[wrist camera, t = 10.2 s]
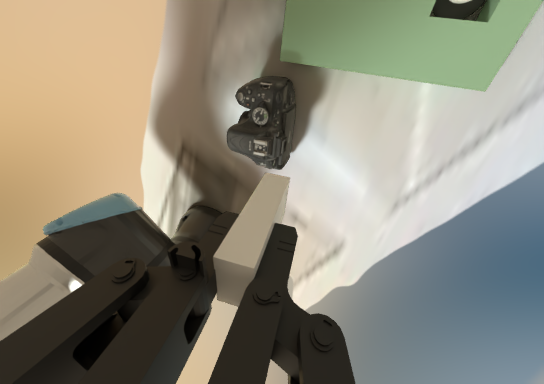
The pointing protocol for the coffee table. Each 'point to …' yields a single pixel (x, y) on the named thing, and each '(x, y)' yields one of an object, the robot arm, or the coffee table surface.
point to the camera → (265, 122)
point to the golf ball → (459, 1)
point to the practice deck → (406, 37)
